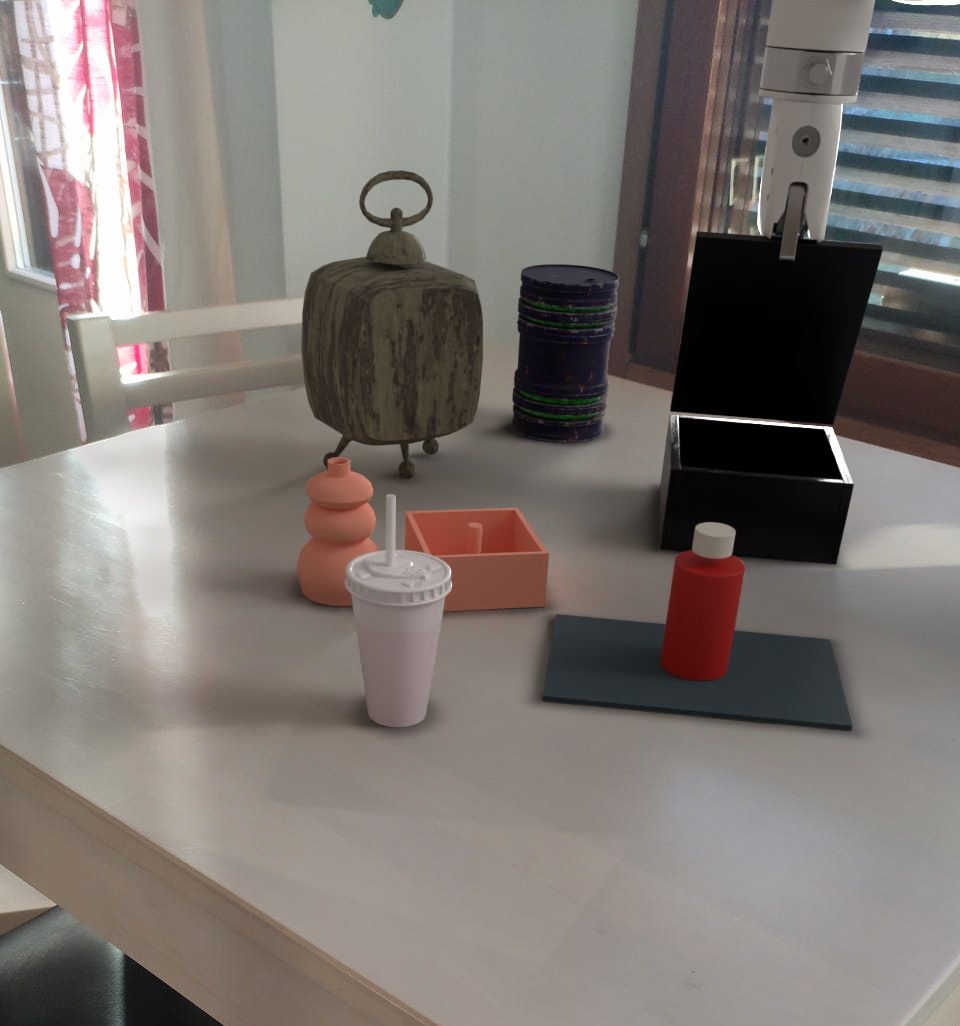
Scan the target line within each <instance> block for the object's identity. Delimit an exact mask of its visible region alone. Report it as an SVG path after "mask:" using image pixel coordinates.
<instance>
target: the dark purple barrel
mask: <svg viewBox="0 0 960 1026" xmlns="http://www.w3.org/2000/svg"><path fill="white" fill-rule="evenodd" d="M520 282H521V285H520V287H519V297H518V299H517V301H518V302H517V312H518V315H517V321H516V324H517V332H518V333H519V340H518V353H517V354H518V355H517V368H516V370H514V377H513V386H514V387H513V388H512V398H511V400H512V412H513V417H512V419H511V428H512V430H513V431H514V432H516V433H518V434H519V435H522V436H524V437H526V438H530V439H532V440H533V439H534V440H537V441H544V442H551V443H580V442H581V443H582V442H590V441H592V440H595V439H598V438H600V437H601V436H602V435H603V434H604V429H605V425H604V419H605V417H606V410H607V408H608V401H609V394H608V392H609V387H610V378H609V375H608V369H609V358H610V348H611V340H612V339H613V338H614V334H615V331H616V327H615V323H616V319H617V314H618V313H617V312H618V304H617V302H618V292H617V289H618V287H619V282H620V276H619V275H618V274H617V273H615V272H613V271H611V270H608V269H604V268H600V267H599V268H598V267H594V266H586V265H580V264H563V263H562V264H561V263H551V264H550V263H547V264H535V265H530V266H529V265H528V266H526V267H523V268H522V269H521V271H520Z"/></svg>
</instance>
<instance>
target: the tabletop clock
mask: <svg viewBox="0 0 960 1026" xmlns="http://www.w3.org/2000/svg"><path fill="white" fill-rule="evenodd" d="M398 180H401V181H402V180H404V181H411V182H413V183H416V184H418V185H419V186H420V187H421V188H422V190H424V192H425V194H426V198H427V202H426V206H425V207H424V208H423V209H422V210H421V211H419V212H418V213H416V214H413V215H411V216H406V217H403V216H404V215H403V214H404V212H403V210H402V209H401V208H400V207H394V208H392V209H391V210H390V217H389V218H387V217H386V218H385V217H384V218H383V217H380V216H376V215H374V214H372V213H371V212H370V211H368V210H367V208H366V198H367V196H368V194H369V192H370V191H371V190H372V189H374V187H375V186H377V185H379V184H381V183H384V182H388V181H398ZM433 202H434V194H433V191H432V188H431V186H430V184H429V183H428V181H427V180H426V179H425V178H424V177H422V176H421V175H419V174H417V173H415V172H413V171H407V170H402V169H401V170H388V171H383V172H379V173H377V174H376V175H374V176H373V177H371V178H370V179H369V180H368V181H367V182H366V183H365V185H364V186H363V187H362V190H361V192H360V194H359V199H358V203H359V209H360V211H361V214H362V216H364V217H365V218H366V220H367V221H368V222H369V223H371V224H374V225H376V226H379V227H383V228H387V229H388V228H389V230H385V231H382V232H379V233H378V234H377V235H376V237H374V238H373V240H372V241H371V243H370V245H369V247H368V250H367V253H366V255H365V256H361V257H354V258H348V259H342V260H337V261H332V262H329V263H327V264H326V263H325V264H323V265H322V266H320V267H318V268H317V269H315V270H313V271H311V272H310V274H309V278H308V281H307V283H306V287H305V290H304V296H303V303H302V310H301V311H302V312H301V313H302V317H301V346H300V347H301V361H302V370H303V380H304V388H305V393H306V398H307V402H308V406H309V407H310V409H311V412H312V415H313V417H314V419H316V420H318V421H319V422H321V423H323V424H324V425H326V426H328V427H329V428H331V429H333V430H334V431H336V432H337V433H338V434H340V435H342V436H341V438H340V439H339V442H338V444H337V446H336V448H335V450H334V451H328V452H327V453H325V454H324V456H323V459H322V463H323V465H324V467H325V468H326V469H328V462H327V461H328V459H330V458H335V457H340V455H341V454H342V453H343V451H344V450H345V449H346V448H347V446H349V444H350V443H351V442H352V441H353V442H356V443H359V444H362V445H366V446H371V447H372V446H373V447H374V446H375V447H376V446H393V445H395V446H396V445H399V448H400V451H401V455H402V461H401V462H400V463H399V464H398V475H400V477H401V478H403V479H408V480H409V479H411V478H413V477H414V476H415V474H416V471H417V467H416V465H415V463H414V462H413V461H411V460H410V445H409V444H416V443H420V442H422V448H421V449H422V451H423V452H424V453H425V454H426V455H428V456H433V455H435V454H437V453H438V451H439V448H440V443H439V442H438V440H437V438H441V437H446V436H449V435H452V434H453V433H456V432H458V431H460V430H462V429H464V428H466V427H467V426H469V425H470V424H472V423H473V422H474V419H475V416H476V413H477V411H478V406H479V402H480V395H481V385H482V374H483V373H482V372H483V362H484V318H483V308H482V302H481V298H480V297H481V296H480V294H479V291H478V287H477V283H476V281H475V279H473V278H471V277H468V276H466V275H464V274H462V273H460V272H457V271H455V270H451V269H449V268H446V267H444V266H442V265H438V264H436V263H433V262H430V261H427V260H426V259H427V255H426V252H425V248H424V246H423V244H422V242H421V241H420V239H418V237H417V236H416V235H414V234H413V233H410V232H408V231H405V230H404V229H403V228H406V227H409V226H413V225H415V224H417V223H419V222H421V221H422V220H424V219H425V218H426V216H428V214H429V213H430V211H431V209H432V207H433Z"/></svg>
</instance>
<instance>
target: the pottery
mask: <svg viewBox="0 0 960 1026" xmlns="http://www.w3.org/2000/svg"><path fill="white" fill-rule="evenodd" d="M327 462H328V468H327V470H325V471H322V472H318V473H317V474H315V475H314V476H312V477H311V478H310V479H309V480H308V481H307V483H306V486H305V490H304V491H305V494H306V496H307V498H308V499H309V501H310V503H309V504H308V506H307V508H306V509H305V512H304V516H303V522H304V527H305V530H307V533H308V534H309V536H311V538H310V539H309V540H308V541H307V542H306V543H305V544H304V546H303V547H302V549H301V550H300V552H299V554H298V558H297V562H296V574H297V577H298V581H299V582H298V583H299V585H300V588H301V592H302V594H303V596H304V597H305V598H306V599H307V600H310V601H312V602H314V603H317V604H319V605H325V606H331V607H353V603H352V595H351V593H350V592H349V591H348V590H347V589H346V586H345V580H346V566H347V565H348V563H349V562H350V561H352V560H353V559H354V558H356V557H358V556H360V555H363V554H366V553H370V552H375V551H380V550H379V548H378V546H377V545H376V544H375V543H374V542H373V541H372V540H371V539H370V538H369V537H371V536H372V534H373V532H374V530H375V529H376V521H377V517H376V514H375V511H374V509H373V507H372V506H371V505H370V503H369V502H370V500H371V498H372V497H373V495H374V488H373V485H372V482H371V481H370V480H368V478H366V477H365V476H364V475H362V474H361V473H358V472H356V471H353V470H351V460H350V459H349V458H347V457H342V456H339V457H335V458H330V459H328V461H327ZM404 515H405V516H404V550H409V551H416V552H421V553H425V554H429V555H432V556H434V557H437V558H439V559H441V560H442V561H444V562H445V563H446V564H447V565H448V566H449V567H450V569H451V582H452V589H451V591H450V592H449V593H448V594H447V596H445V601H444V608H443V612H459V611H482V610H502V609H503V610H504V609H523V608H545V606H546V596H547V585H548V571H549V558H550V553H549V551H548V549H547V548H546V547H545V545H544V544H543V542H542V541H541V539H540V538H539V536H538V535H537V533H536V532H535V529H533V527H532V526H531V525H530V523H529V521H528V520H527V518H526V517H525V515H524V514H523V513H522V511H521V510H520V507H500V508H498V507H497V508H496V507H495V508H467V509H437V510H435V509H434V510H405V512H404Z"/></svg>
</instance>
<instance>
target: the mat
mask: <svg viewBox="0 0 960 1026" xmlns="http://www.w3.org/2000/svg"><path fill="white" fill-rule="evenodd" d="M554 617H555V618H554V624H553V630H552V635H551V641H550V648H549V654H548V661H547V666H546V672H545V679H544V685H543V691H542V699H541V701H542V702H551V703H560V704H561V703H562V704H572V705H582V706H592V707H602V708H612V709H613V708H614V709H620V710H621V709H622V710H623V709H624V710H633V711H642V712H655V713H662V714H663V713H664V714H674V715H684V716H695V717H705V718H713V719H714V718H715V719H726V720H734V721H735V720H737V721H746V722H747V721H748V722H755V723H756V722H757V723H765V724H766V723H767V724H778V725H787V726H797V727H808V728H809V727H810V728H816V729H817V728H818V729H826V730H827V729H829V730H837V731H838V730H841V731H848V732H849V731H850V732H851V731H852V730H853V722H852V719H851V718H852V717H851V714H850V711H849V707H848V702H847V699H846V694H845V691H844V687H843V683H842V679H841V675H840V672H839V671H840V670H839V668H838V664H837V659H836V656H835V652H834V650H833V645H832V641H831V639H830V638H821V637H820V638H819V637H808V636H801V635H800V636H798V635H787V634H777V633H776V634H775V633H767V632H766V633H765V632H755V631H744V630H735V629H734V635H733V641H732V646H731V652H730V657H729V663H728V669H727V672H726V673H725V674H724V675H723V676H722V677H720V678H717V679H714V680H708V681H695V680H688V679H683V678H680V677H677V676H674V675H672V674H670V673H668V672H667V671H666V670H664V669H663V667H662V666H661V662H660V661H661V654H662V647H663V640H664V633H665V626H666V623H658V622H646V621H637V620H636V621H635V620H624V619H614V618H605V617H603V618H602V617H592V616H582V615H572V614H571V615H570V614H562V613H561V614H560V613H556V614H555V616H554Z"/></svg>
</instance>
